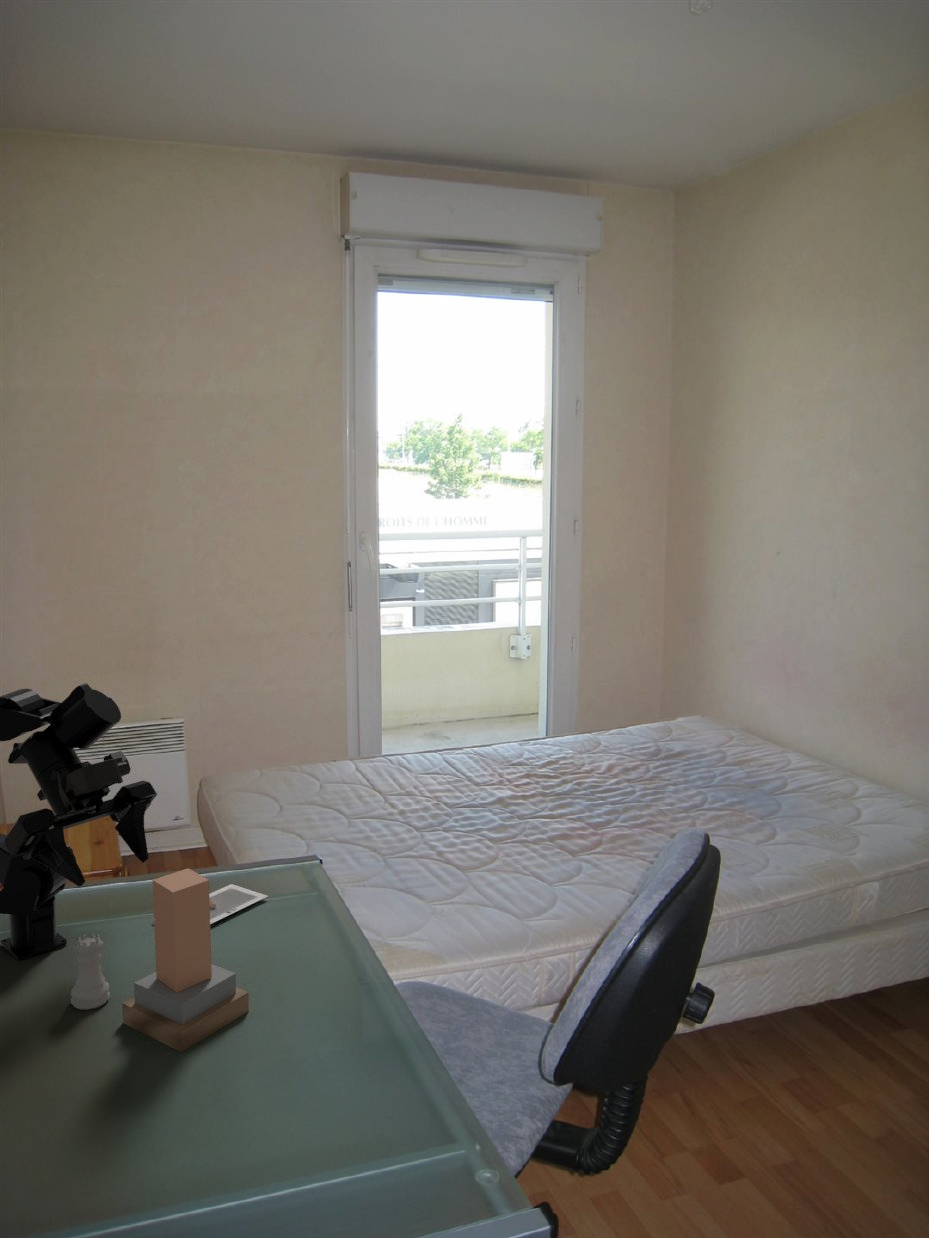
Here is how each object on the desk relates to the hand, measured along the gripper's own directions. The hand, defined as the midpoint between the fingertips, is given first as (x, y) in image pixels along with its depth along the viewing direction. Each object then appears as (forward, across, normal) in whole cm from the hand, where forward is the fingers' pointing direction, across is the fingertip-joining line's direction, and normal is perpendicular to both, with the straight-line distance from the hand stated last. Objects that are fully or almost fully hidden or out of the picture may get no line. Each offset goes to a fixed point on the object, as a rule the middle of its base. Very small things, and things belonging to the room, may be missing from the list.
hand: (115, 872), depth 116 cm
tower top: (+18, -2, -2) cm, 19 cm away
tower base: (+20, -2, 0) cm, 20 cm away
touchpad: (+7, +20, +13) cm, 25 cm away
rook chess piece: (+12, -6, +8) cm, 15 cm away
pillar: (+16, -2, -4) cm, 17 cm away
